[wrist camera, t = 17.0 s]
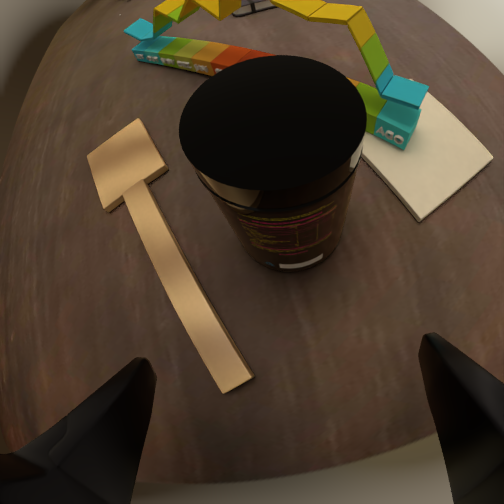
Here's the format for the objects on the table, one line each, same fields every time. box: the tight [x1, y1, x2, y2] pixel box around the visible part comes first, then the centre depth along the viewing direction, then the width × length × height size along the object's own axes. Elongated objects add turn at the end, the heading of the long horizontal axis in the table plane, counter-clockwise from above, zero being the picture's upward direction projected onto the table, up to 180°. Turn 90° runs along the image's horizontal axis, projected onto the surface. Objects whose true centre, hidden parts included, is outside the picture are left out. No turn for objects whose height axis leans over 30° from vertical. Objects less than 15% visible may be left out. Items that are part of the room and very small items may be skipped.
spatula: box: [87, 118, 254, 394], centre depth 21 cm, size 23×6×1 cm, turn 32°
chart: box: [124, 0, 429, 150], centre depth 17 cm, size 30×3×15 cm, turn 54°
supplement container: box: [179, 55, 367, 271], centre depth 15 cm, size 7×7×10 cm
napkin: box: [361, 79, 493, 222], centre depth 20 cm, size 10×10×1 cm
